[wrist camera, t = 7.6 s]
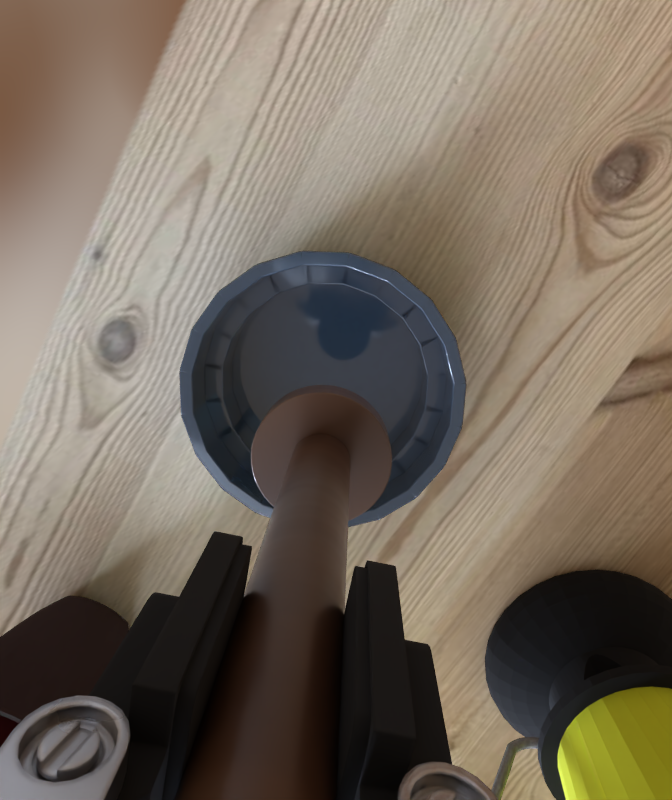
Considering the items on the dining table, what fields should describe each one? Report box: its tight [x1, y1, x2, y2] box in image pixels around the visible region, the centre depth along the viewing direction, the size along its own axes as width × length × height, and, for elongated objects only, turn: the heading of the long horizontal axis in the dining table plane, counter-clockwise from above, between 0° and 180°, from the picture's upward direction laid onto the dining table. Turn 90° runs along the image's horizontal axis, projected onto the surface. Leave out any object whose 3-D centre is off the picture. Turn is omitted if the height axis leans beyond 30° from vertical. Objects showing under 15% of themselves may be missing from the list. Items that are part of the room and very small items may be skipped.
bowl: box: [180, 251, 466, 527], centre depth 33 cm, size 15×15×6 cm
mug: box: [0, 596, 129, 747], centre depth 36 cm, size 10×14×12 cm
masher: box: [174, 385, 392, 800], centre depth 13 cm, size 5×5×15 cm
